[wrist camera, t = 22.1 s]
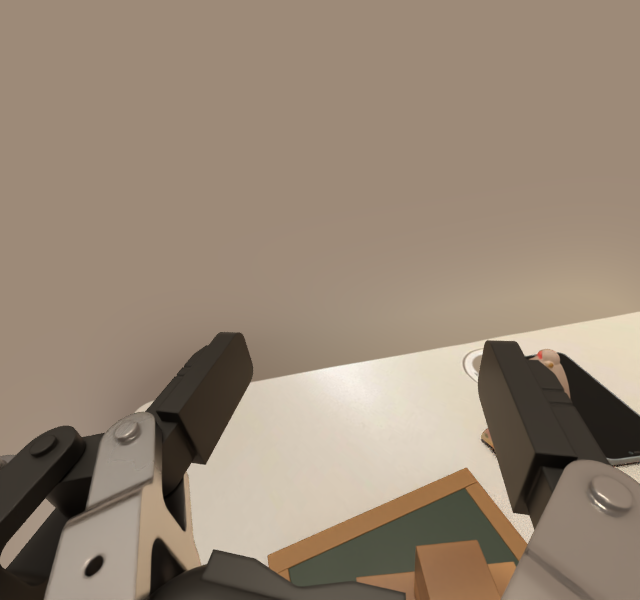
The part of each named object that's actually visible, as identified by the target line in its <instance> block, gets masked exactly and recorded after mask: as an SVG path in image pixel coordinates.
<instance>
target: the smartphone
mask: <svg viewBox="0 0 640 600" xmlns="http://www.w3.org/2000/svg"><path fill="white" fill-rule="evenodd" d="M556 353H557V354H558V355H559V357H560V364H561V365H562V367H563V369H564V372H565V375H566V378H567V381H568V385H569V391H570V399H571V401H572V403H573V406H575V408H576V409H577V411H578V412H579V414H580V416H581V417H582V419H583V421H584V422H585V424H586V426H587V427H588V429H589V430H590V432H591V434H592V435H593V437H594V439H595V440H596V442H597V444H598V445H599V447H600V448H601V450H602V452H603V453H604V455H605V457H606V458H607V460H608V461H609V463H610V464H611V465H618V464H625V463H632V462H640V415H639V414H638V413H636V412H635V411H634V410H633V409H631V408H630V407H629V406H628V405H627V404H625V403H624V402H623V401H622V400H620V399H619V398H618V397H617V396H616V395H614V394H613V393H612V392H611V391H609V390H608V389H607V388H606V387H605V386H603V385H602V384H601V383H600V382H599V381H597V380H596V379H595V378H594V377H592V376H591V375H590V374H589V373H588V372H586V371H585V370H584V369H583V368H581V367H580V366H579V365H578V364H577V363H575V362H574V361H573V360H572V359H570V358H569V357H568V356H567V355H565V354H563V353H559V352H556ZM536 355H537V354H536ZM536 355H530V356H525V358H526V359H527V360H529V359H531V358H533V357H535V356H536Z"/></svg>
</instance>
